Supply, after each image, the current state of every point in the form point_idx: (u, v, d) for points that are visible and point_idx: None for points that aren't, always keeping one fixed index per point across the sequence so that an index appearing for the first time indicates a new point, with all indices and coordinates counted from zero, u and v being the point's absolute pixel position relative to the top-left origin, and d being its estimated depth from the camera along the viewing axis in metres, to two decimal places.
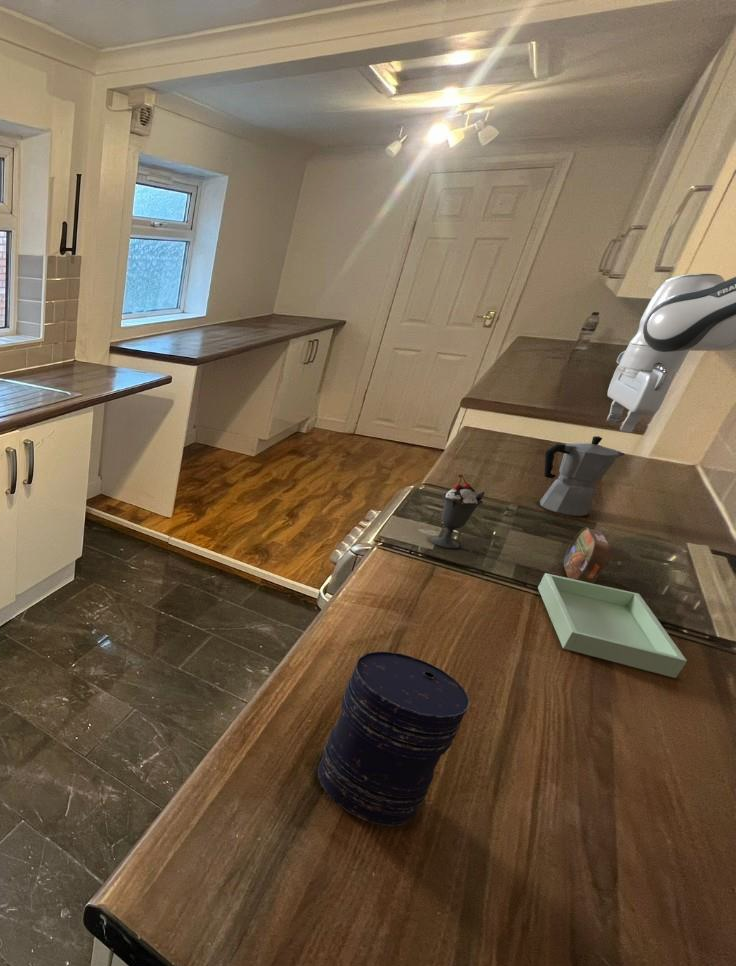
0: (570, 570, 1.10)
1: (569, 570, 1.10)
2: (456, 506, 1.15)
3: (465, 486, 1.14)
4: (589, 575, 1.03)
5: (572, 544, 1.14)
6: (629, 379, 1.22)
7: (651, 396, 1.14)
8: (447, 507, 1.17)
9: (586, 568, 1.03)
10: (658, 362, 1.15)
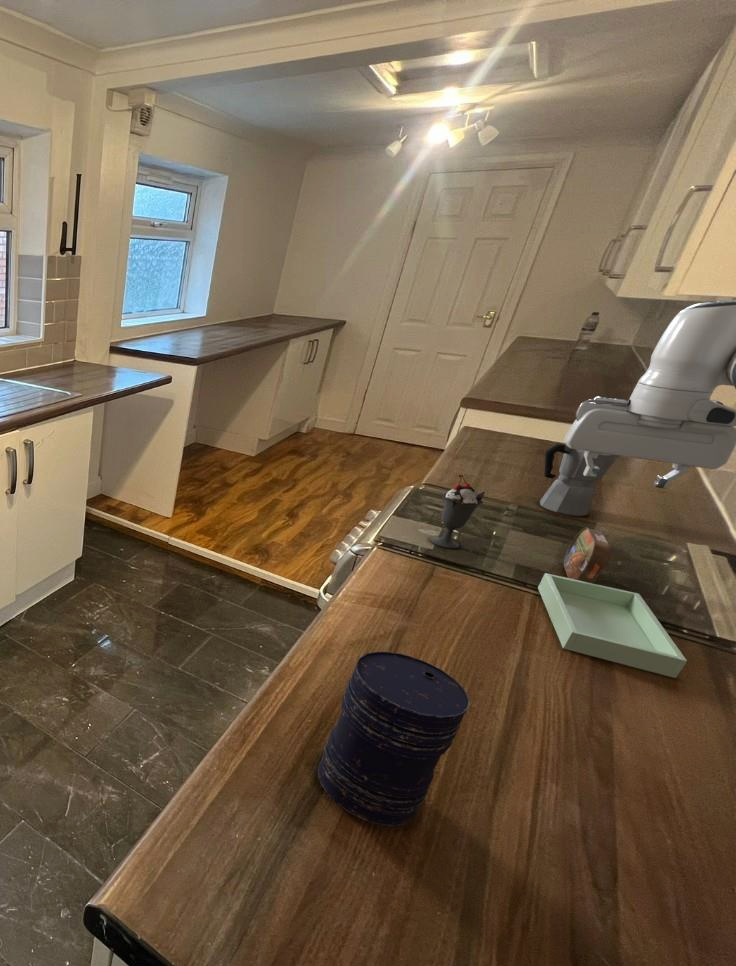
0: (570, 570, 1.10)
1: (569, 570, 1.10)
2: (456, 506, 1.15)
3: (465, 486, 1.14)
4: (589, 575, 1.03)
5: (572, 544, 1.14)
6: None
7: (572, 426, 1.04)
8: (447, 507, 1.17)
9: (586, 568, 1.03)
10: (630, 399, 0.99)
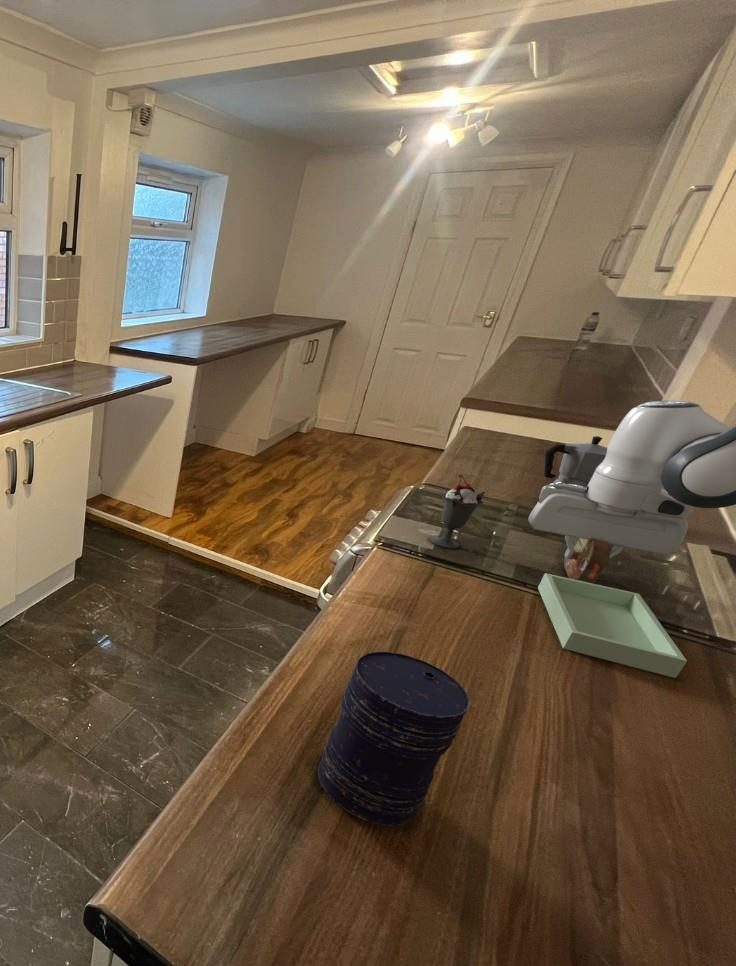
0: (570, 570, 1.10)
1: (570, 570, 1.10)
2: (456, 506, 1.15)
3: (465, 486, 1.14)
4: (590, 575, 1.03)
5: None
6: None
7: (535, 508, 1.09)
8: (447, 507, 1.17)
9: (586, 568, 1.03)
10: (588, 486, 1.04)
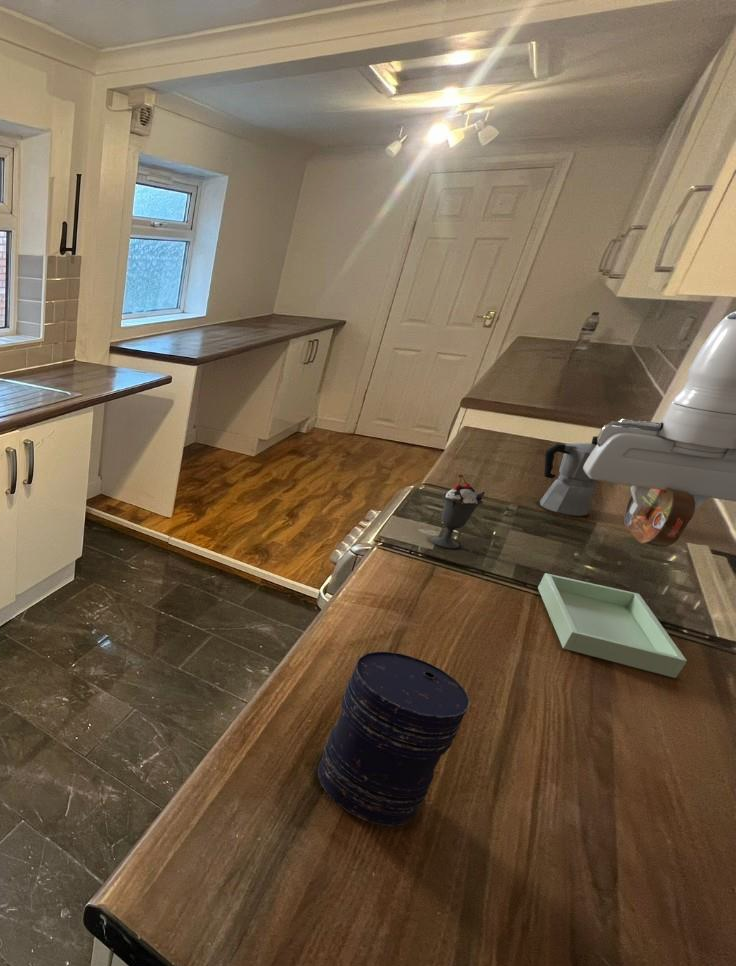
0: (637, 530, 0.89)
1: (635, 530, 0.89)
2: (456, 506, 1.15)
3: (465, 486, 1.14)
4: (670, 533, 0.82)
5: (631, 499, 0.94)
6: None
7: (593, 453, 0.89)
8: (447, 507, 1.17)
9: (666, 524, 0.82)
10: (662, 422, 0.83)
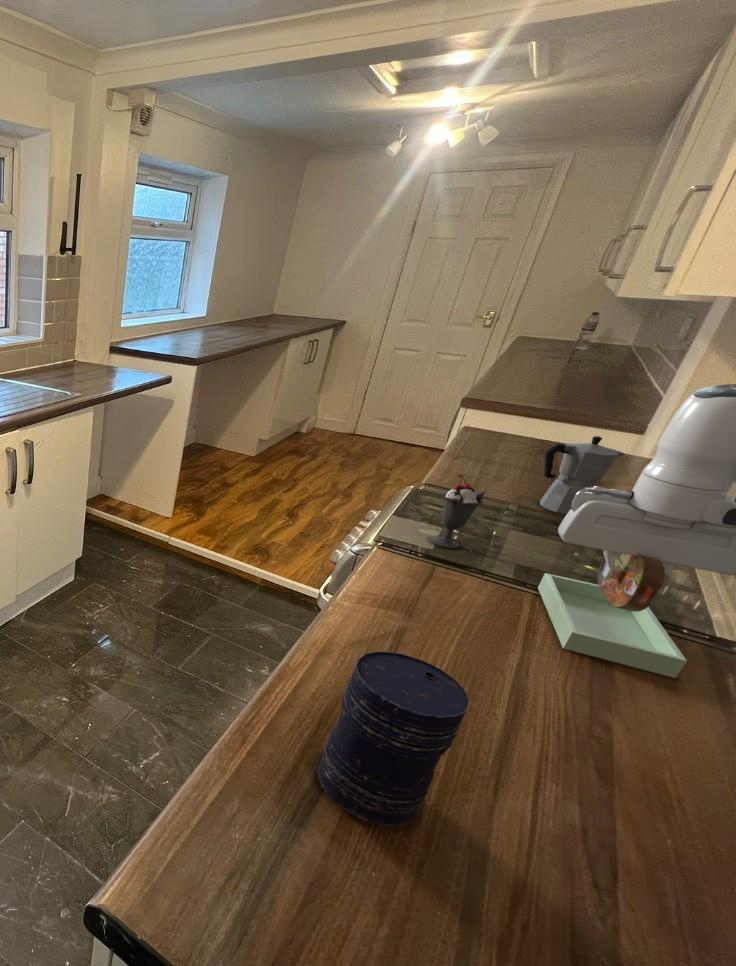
0: (610, 592, 0.91)
1: (608, 592, 0.92)
2: (456, 506, 1.15)
3: (465, 486, 1.14)
4: (641, 600, 0.84)
5: None
6: None
7: (567, 517, 0.91)
8: (447, 507, 1.17)
9: (637, 592, 0.84)
10: (633, 490, 0.86)
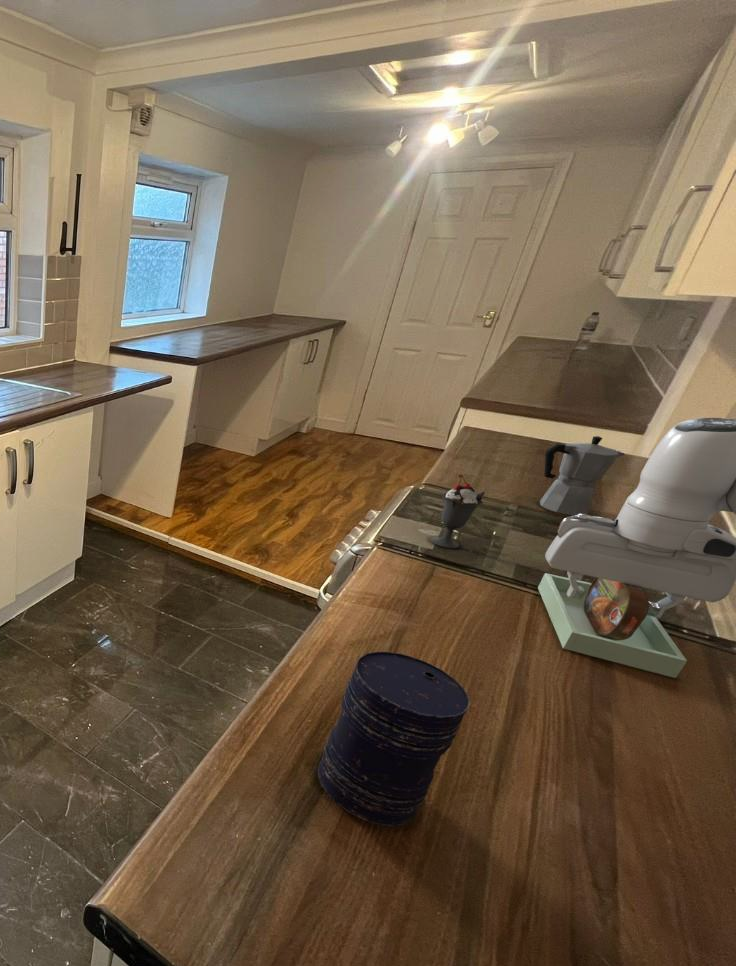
0: (595, 619, 0.94)
1: (594, 619, 0.94)
2: (456, 506, 1.15)
3: (465, 486, 1.14)
4: (625, 630, 0.86)
5: (592, 585, 0.98)
6: None
7: (554, 543, 0.93)
8: (447, 507, 1.17)
9: (621, 622, 0.86)
10: (617, 519, 0.88)
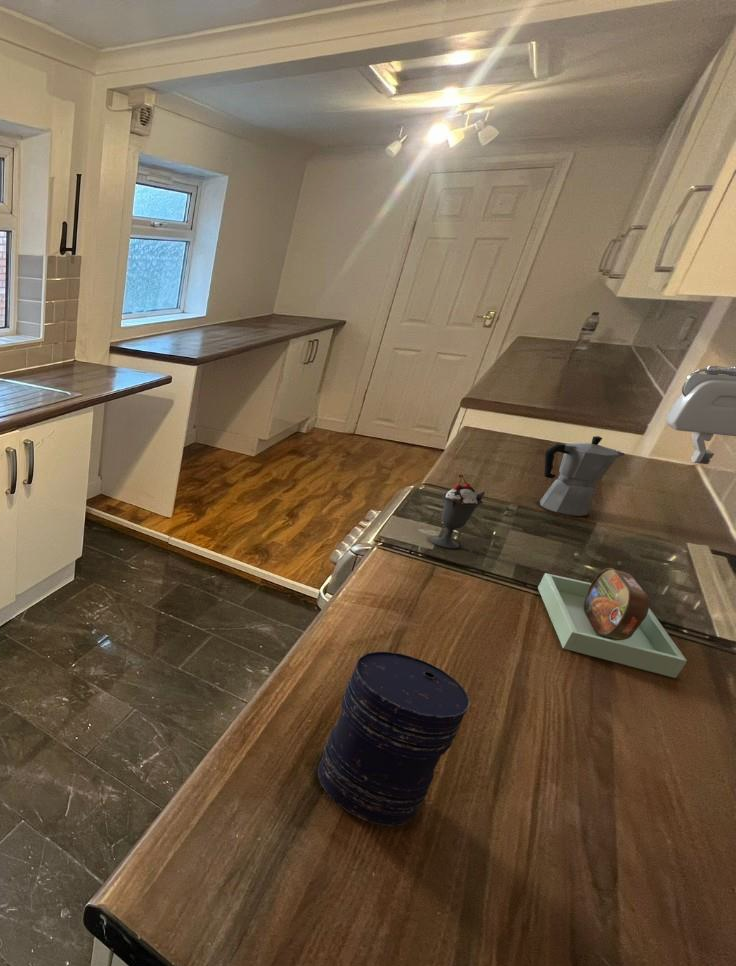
0: (595, 619, 0.94)
1: (594, 619, 0.94)
2: (456, 506, 1.15)
3: (465, 486, 1.14)
4: (625, 630, 0.86)
5: (592, 585, 0.98)
6: None
7: (678, 403, 0.86)
8: (447, 507, 1.17)
9: (621, 622, 0.86)
10: None
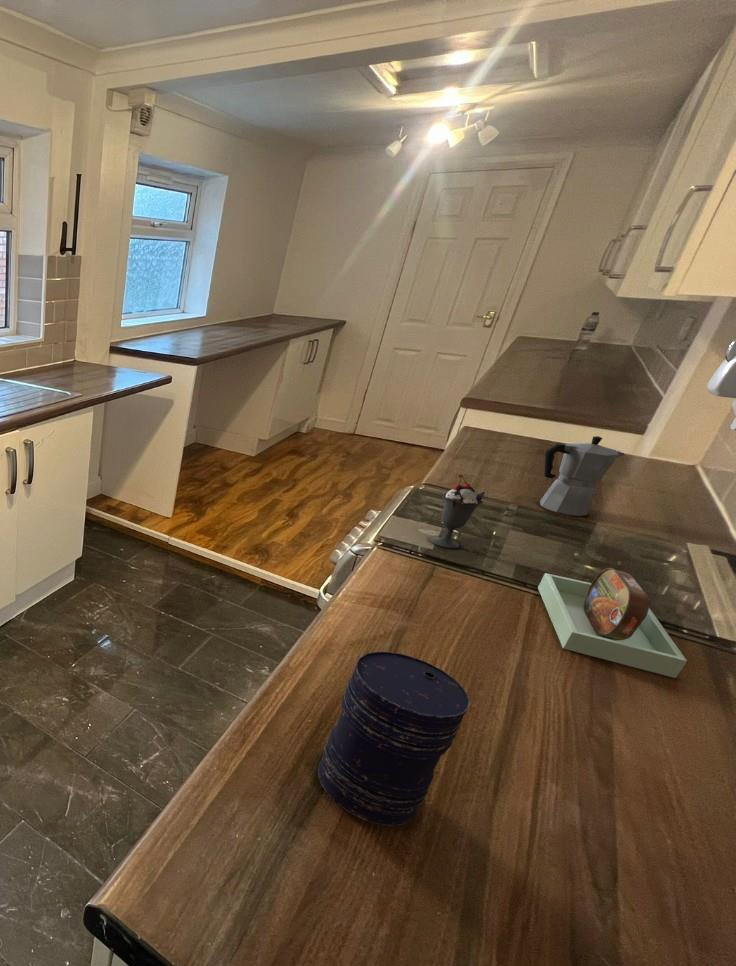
0: (595, 619, 0.94)
1: (594, 619, 0.94)
2: (456, 506, 1.15)
3: (465, 486, 1.14)
4: (625, 630, 0.86)
5: (592, 585, 0.98)
6: None
7: (720, 369, 0.85)
8: (447, 507, 1.17)
9: (621, 622, 0.86)
10: None
